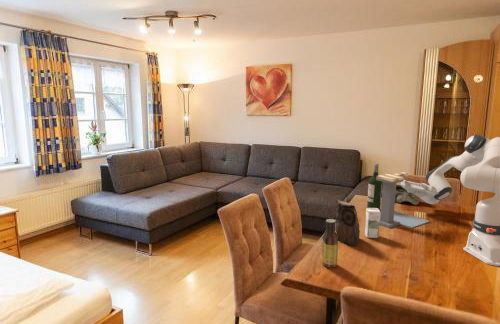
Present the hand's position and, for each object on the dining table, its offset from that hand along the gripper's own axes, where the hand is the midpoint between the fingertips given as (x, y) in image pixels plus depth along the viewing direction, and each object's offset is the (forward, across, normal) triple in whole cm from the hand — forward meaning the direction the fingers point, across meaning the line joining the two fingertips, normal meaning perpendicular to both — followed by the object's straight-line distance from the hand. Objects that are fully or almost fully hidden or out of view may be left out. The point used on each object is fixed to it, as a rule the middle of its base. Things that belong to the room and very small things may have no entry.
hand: (412, 182), depth 196 cm
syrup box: (+30, -7, -40) cm, 51 cm away
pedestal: (+10, 0, -29) cm, 31 cm away
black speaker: (+42, -4, -47) cm, 63 cm away
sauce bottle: (+66, -17, -60) cm, 91 cm away
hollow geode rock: (-31, +23, -7) cm, 39 cm away
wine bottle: (-4, +20, -22) cm, 30 cm away
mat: (-2, 0, -22) cm, 23 cm away
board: (+18, 0, -4) cm, 19 cm away
